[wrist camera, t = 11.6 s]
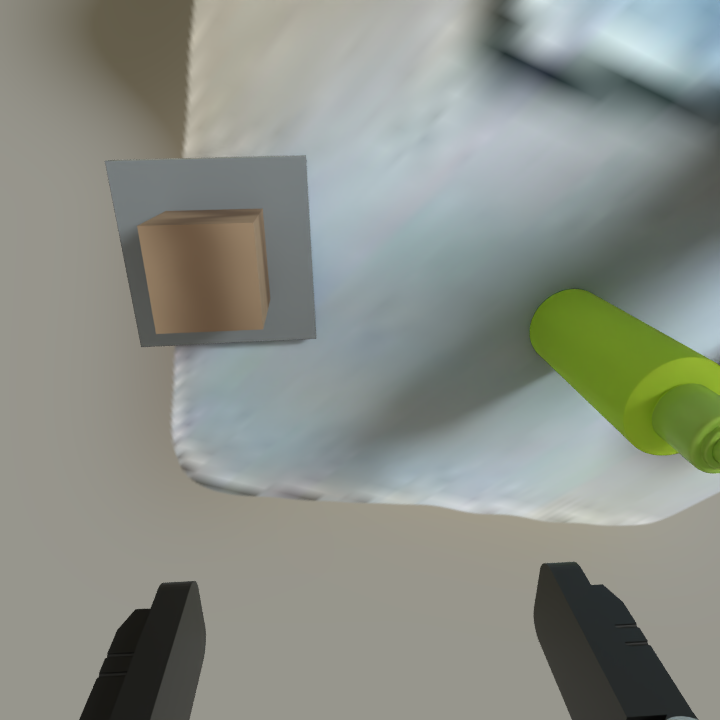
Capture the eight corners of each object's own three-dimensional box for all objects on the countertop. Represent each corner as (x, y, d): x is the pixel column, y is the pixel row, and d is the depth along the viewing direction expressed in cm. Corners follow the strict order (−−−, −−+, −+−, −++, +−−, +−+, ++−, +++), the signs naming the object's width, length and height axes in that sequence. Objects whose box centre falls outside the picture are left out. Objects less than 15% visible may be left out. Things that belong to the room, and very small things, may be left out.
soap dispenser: (531, 380, 41) (707, 575, 23) (527, 297, 39) (722, 442, 20) (604, 366, 42) (838, 548, 23) (605, 281, 39) (871, 412, 20)
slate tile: (305, 155, 34) (305, 156, 33) (315, 332, 38) (315, 338, 37) (111, 160, 33) (104, 160, 32) (146, 340, 38) (141, 347, 36)
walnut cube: (262, 208, 34) (253, 222, 28) (270, 299, 36) (263, 329, 30) (165, 210, 33) (137, 226, 28) (180, 303, 35) (156, 334, 30)
